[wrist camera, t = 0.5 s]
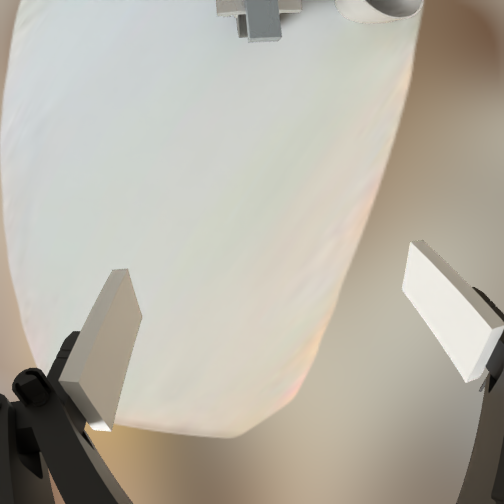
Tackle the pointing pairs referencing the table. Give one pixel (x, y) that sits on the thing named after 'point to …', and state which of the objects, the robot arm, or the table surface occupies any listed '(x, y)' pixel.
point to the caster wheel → (258, 17)
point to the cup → (378, 10)
